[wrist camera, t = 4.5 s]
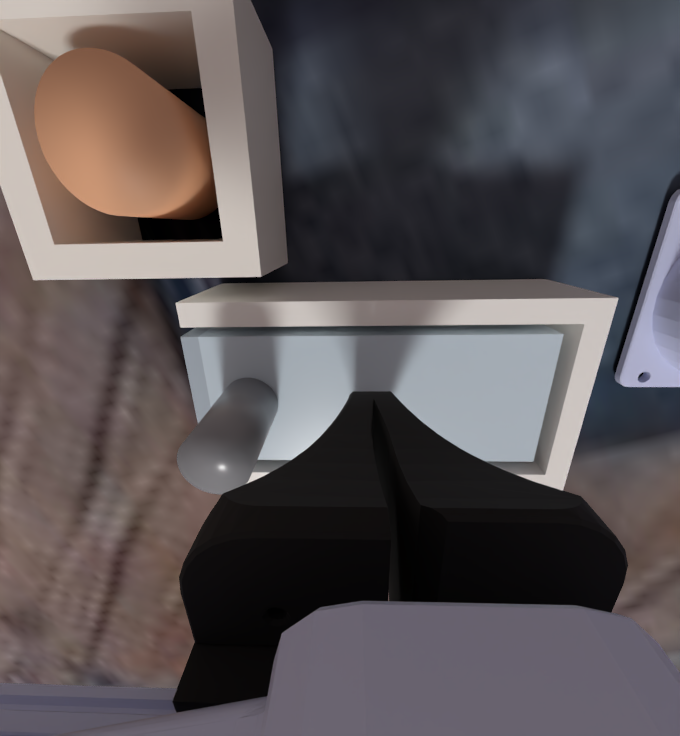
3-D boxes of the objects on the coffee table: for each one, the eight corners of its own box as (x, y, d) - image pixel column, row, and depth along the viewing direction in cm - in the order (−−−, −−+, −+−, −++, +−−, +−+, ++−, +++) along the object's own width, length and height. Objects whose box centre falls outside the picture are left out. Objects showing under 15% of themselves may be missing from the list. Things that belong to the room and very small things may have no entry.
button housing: (272, 49, 12) (227, -52, 7) (288, 263, 14) (261, 276, 10) (74, 57, 12) (-77, -36, 8) (125, 265, 15) (33, 280, 10)
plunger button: (222, 103, 12) (160, 44, 8) (236, 219, 13) (189, 214, 9) (119, 107, 12) (11, 50, 8) (144, 221, 13) (61, 217, 9)
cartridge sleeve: (545, 278, 14) (618, 297, 10) (514, 431, 17) (562, 491, 13) (222, 283, 15) (175, 302, 11) (244, 430, 17) (212, 488, 14)
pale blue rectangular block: (515, 310, 14) (652, 378, 8) (496, 414, 16) (594, 540, 10) (218, 313, 15) (112, 379, 8) (234, 414, 17) (157, 533, 10)
